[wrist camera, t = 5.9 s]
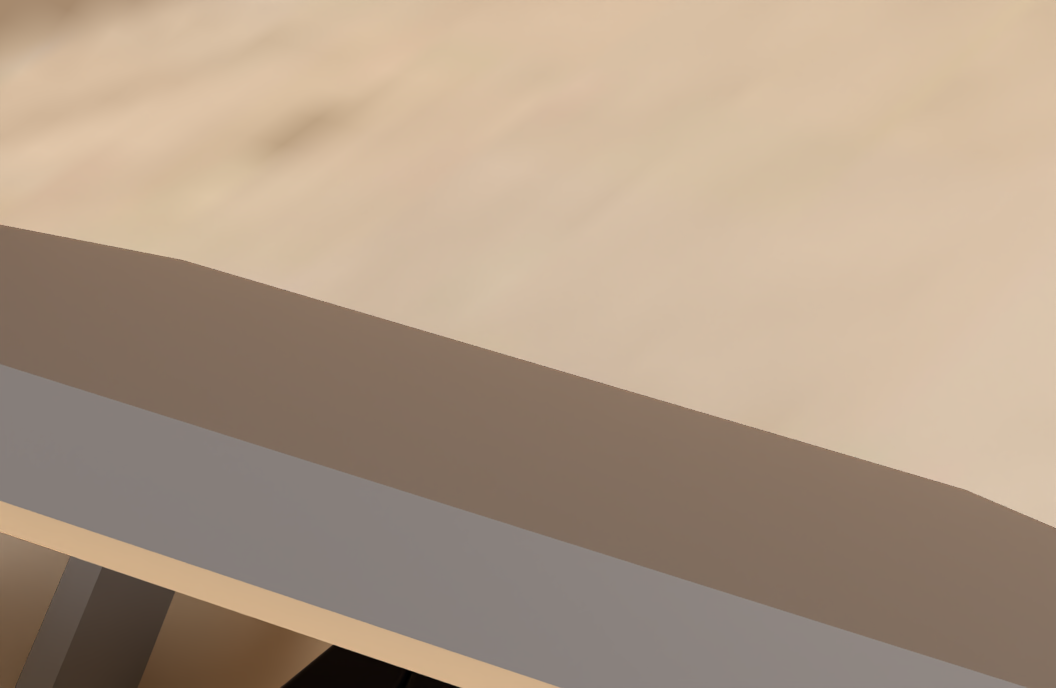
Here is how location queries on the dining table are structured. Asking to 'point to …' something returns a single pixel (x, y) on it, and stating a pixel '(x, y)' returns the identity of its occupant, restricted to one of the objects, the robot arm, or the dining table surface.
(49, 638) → the box
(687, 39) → the dining table surface
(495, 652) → the mailer lid
